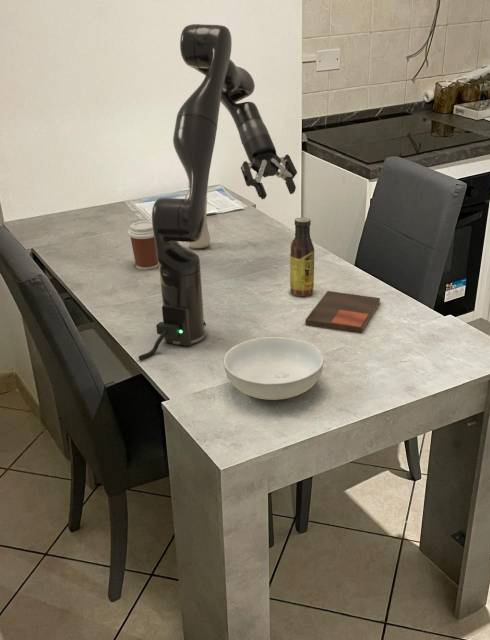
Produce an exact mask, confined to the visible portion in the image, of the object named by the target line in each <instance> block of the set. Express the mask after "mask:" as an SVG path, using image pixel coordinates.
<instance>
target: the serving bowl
mask: <svg viewBox="0 0 490 640" xmlns="http://www.w3.org/2000/svg"><path fill="white" fill-rule="evenodd" d="M324 364H325V357H324V355H323V353H322V351H321V350H320V349H319V348H318V347H317V346H316V345H313V344H312V343H310V342H308V341H305V340H303V339H299V338H293V337H287V336H263V337H257V338H252V339H248V340H244V341H242V342H240V343H238V344H236V345H234V346H233V347H231V348H230V349H229V350H227V352H226V353H225V354H224V358H223V367H224V372H225V374H226V377H227V379H228V381H229V382H230V383H231V385H232V386H233V387H234V388H235V389H236V390H238V391H239V392H241V393H242V394H245V395H246V396H249V397H252V398H256V399H260V400H270V401H277V400H286V399H291V398H294V397H297V396H299V395H301V394H302V395H303V394H304V393H305V392H307V391H308V390H310V389H311V388H313V386H314V385H315V384H316V383H317V382H318V380H319V379H320V377H321V375H322V372H323V370H324V369H323V368H324ZM270 372H285V373H287V374H289V377H287V378H282V377H281V378H280V379H277V378H275V377H274V374H275V373H273V374H272V375H269V374H270ZM279 376H280V375H279Z"/></svg>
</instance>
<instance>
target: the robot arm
mask: <svg viewBox="0 0 490 640" xmlns="http://www.w3.org/2000/svg"><path fill="white" fill-rule="evenodd" d="M180 34H181V35H180V39H179V49H180V56H181V58H182V60H183V62H184V63H185V64H186V65H187V66H188V67H190V68H191V69H194V70H195V71H198V72H199V73H200V74H202V75H204V79H203V80H202V82H201V83H200V85H199V86H198V87H197V88H196V89H195V90H194V91H193V93H191V95H190V96H189V97H188V98H187V99H185V101H184V102H183V104H182V105H181V106H180V107H179V110H178V112H177V114H176V119H175V124H174V131H173V135H172V136H173V137H172V144H173V149H174V150H175V153H176V155H177V158H178V160H179V161H180V164H181V165H182V167H183V169H184V171H185V174H186V177H187V180H188V186H189V185H190V188H189V189H190V192H189V197H188V199H185V198H179V197H177V198H176V197H160V198H157V199H156V200H155V202H154V203H153V206H152V210H151V222H152V226H153V234H154V240H155V246H156V254H157V260H158V264H159V265H158V267H159V268H158V269H159V279H160V289H161V300H162V305H161V309H162V310H161V312H162V321H159V322H158V323H156V334H157V335H159V337H158V338H157V339H156V341H155V343H154V345H153V348H152V349H150V351H148V352H147V353H143V354H141V355H139V356H138V359H139V361H142V360H144V359H147V358H149V357H152V356H153V355H154V354H155V353H156V352H157V351H158V349H159V346H160V344H161V343H162V341H163V340H164V343H166V344H171V345H177V346H183V347H190V346H192V345H195V344H198V343H199V342H201V341H202V340H204V339H205V337H206V330H205V328H207V323H206V322H205V317H204V315H205V314H204V304H203V303H204V301H203V300H204V299H203V287H202V286H203V285H202V272H201V261H200V259H201V258H200V256H199V254H197V253H196V252H195V251H193V250H191V249H189V248H187V247H185V246H184V245H182V244H181V243H180V242H182V243H189V242H196V241H198V240H199V239H200V238H201V236H202V233H203V228H204V223H205V213H206V200H207V201H208V188H209V187H208V186H209V179H210V171H211V166H212V165H211V164H212V159H213V153H214V148H215V143H216V137H217V131H218V123H219V115H220V107H221V104H222V105H223V106H224V107H225V109H226V110H227V111H228V113H229V114H230V116H231V118H232V120H233V122H234V124H235V127H236V129H237V131H238V135H239V139H240V142H241V145H242V146H243V148H244V152H245V154H246V157H247V159H248V161H246V160H244V161H243V162H242V164H241V166H240V170H241V173H242V176H243V179H244V182H245V186H246V187H253V188H254V189H255V191H256V193H257V196H258V197H259V198H260V199H261V200H265V199H266V198H267V196H268V195H267V191H266V189H265V187H264V185H263V183H262V182H261V181H262V178H268V177H274V176H276V177H277V178H280V179H281V180H282V181H285V182H284V184H285V185H286V188H287V190H288V193H289V194H290V195H293V194H294V193H295V192H296V189H297V187H296V184H295V181H294V179H295V177H296V176H297V174H298V171H297V169H296V167H295V165H294V162H293V160H292V157H290V155H289V154H285V155H284V156H282V157H280V156H278V154H277V149H276V147H275V144H274V142H273V140H272V137H271V134H270V132H269V129H268V128H267V126H266V123H264V121H263V118H262V116H261V113H260V111H259V108H258V107H257V105H256V103H254V102H253V101H244V102H243V101H242V100H244V99H246V98H248V97H250V96H251V95H252V94H253V93H254V91H255V86H256V85H255V81H254V78H253V77H252V75H251V74H250V73H249V71H247V69H245V68H243V67H241V66H237V65H236V64H235V62H234V61H233V60H232V59H231V55H232V45H233V44H232V43H233V41H232V33H231V31H230V29H229V28H228V27H227V26H225V25H221V24H201V23H200V24H199V23H193V24H188V25H186V26H185V27H183V29H182V30H181V33H180ZM241 101H242V102H241ZM238 102H239V103H238ZM251 169H252V170H253V171H254V172H255V173H256V174H255V176H254V177H253V175H252V171H251Z"/></svg>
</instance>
